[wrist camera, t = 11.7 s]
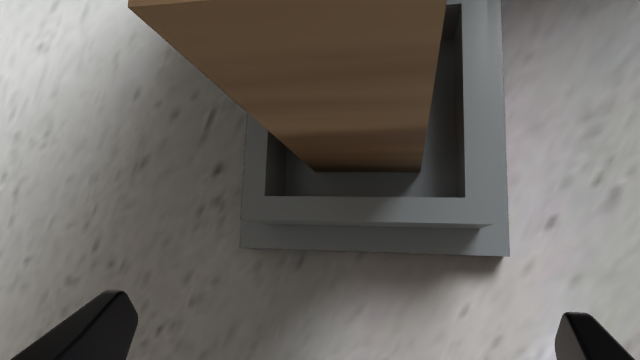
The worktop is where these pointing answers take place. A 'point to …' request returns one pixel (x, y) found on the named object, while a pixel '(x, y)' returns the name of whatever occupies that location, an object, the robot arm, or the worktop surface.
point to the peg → (318, 71)
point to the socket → (401, 187)
